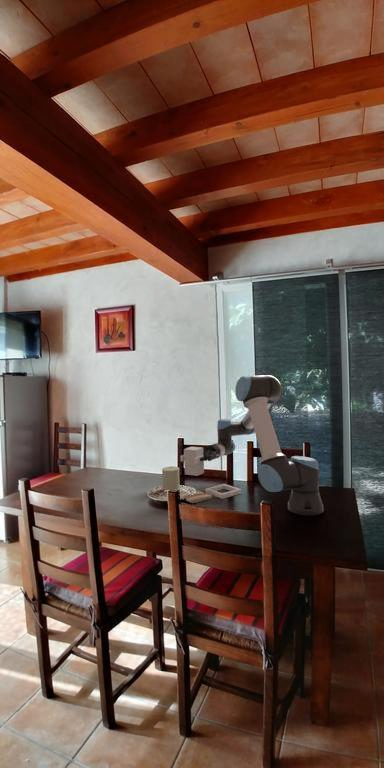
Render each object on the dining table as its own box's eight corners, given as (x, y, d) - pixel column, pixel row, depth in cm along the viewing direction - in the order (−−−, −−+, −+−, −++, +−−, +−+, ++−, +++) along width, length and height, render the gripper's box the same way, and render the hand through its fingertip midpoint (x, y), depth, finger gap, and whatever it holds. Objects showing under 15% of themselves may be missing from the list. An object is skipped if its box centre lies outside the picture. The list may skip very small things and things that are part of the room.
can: (181, 487, 213) (180, 465, 213) (178, 492, 204) (178, 469, 203) (164, 487, 214) (163, 465, 214) (161, 492, 205) (160, 469, 204)
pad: (212, 497, 195) (212, 495, 195) (192, 503, 187) (192, 501, 187) (197, 492, 204) (197, 490, 204) (178, 497, 197) (178, 495, 197)
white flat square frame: (241, 493, 200) (241, 489, 200) (222, 498, 193) (222, 494, 193) (224, 487, 211) (224, 483, 211) (205, 492, 203) (205, 488, 203)
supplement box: (204, 472, 197) (203, 447, 196) (197, 476, 190) (196, 450, 190) (191, 470, 201) (191, 446, 200) (184, 474, 194) (183, 448, 194)
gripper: (231, 460, 203) (205, 470, 185) (199, 456, 216) (171, 464, 198) (231, 446, 203) (205, 454, 185) (198, 442, 216) (171, 449, 198)
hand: (188, 459), depth 191 cm, fingers closed on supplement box, 8 cm apart
